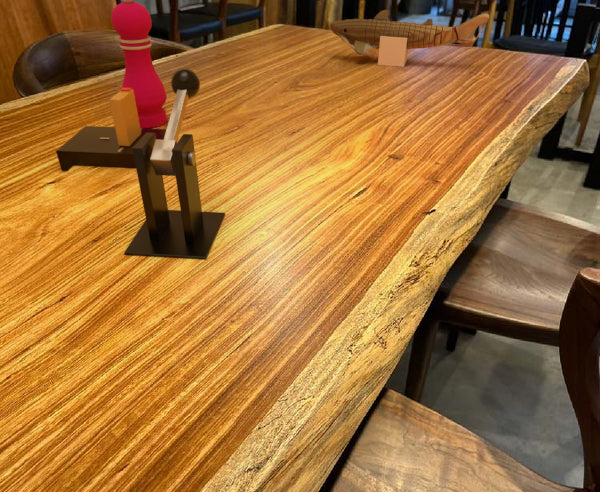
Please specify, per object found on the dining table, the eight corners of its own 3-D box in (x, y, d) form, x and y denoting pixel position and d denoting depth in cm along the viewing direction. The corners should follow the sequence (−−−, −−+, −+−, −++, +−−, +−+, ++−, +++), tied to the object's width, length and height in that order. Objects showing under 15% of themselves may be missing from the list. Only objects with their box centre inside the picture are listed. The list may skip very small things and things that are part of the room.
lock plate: (61, 170, 77) (55, 149, 75) (89, 144, 85) (85, 124, 83) (156, 175, 76) (152, 153, 74) (176, 148, 84) (173, 128, 82)
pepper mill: (155, 131, 89) (133, -5, 77) (118, 126, 91) (91, -8, 79) (177, 118, 95) (160, -12, 82) (142, 113, 97) (120, -15, 84)
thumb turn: (129, 146, 76) (120, 98, 72) (118, 146, 76) (108, 97, 72) (141, 133, 80) (133, 87, 76) (131, 133, 80) (122, 86, 76)
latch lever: (177, 85, 63) (171, 61, 60) (204, 85, 63) (199, 62, 60) (152, 177, 57) (143, 156, 54) (181, 179, 56) (174, 157, 53)
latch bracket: (154, 217, 66) (136, 122, 59) (226, 221, 65) (217, 125, 58) (125, 262, 58) (101, 158, 51) (206, 266, 57) (194, 162, 50)
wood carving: (478, 74, 118) (489, 17, 111) (324, 62, 125) (326, 8, 118) (479, 64, 125) (489, 10, 118) (333, 53, 132) (335, 2, 125)
